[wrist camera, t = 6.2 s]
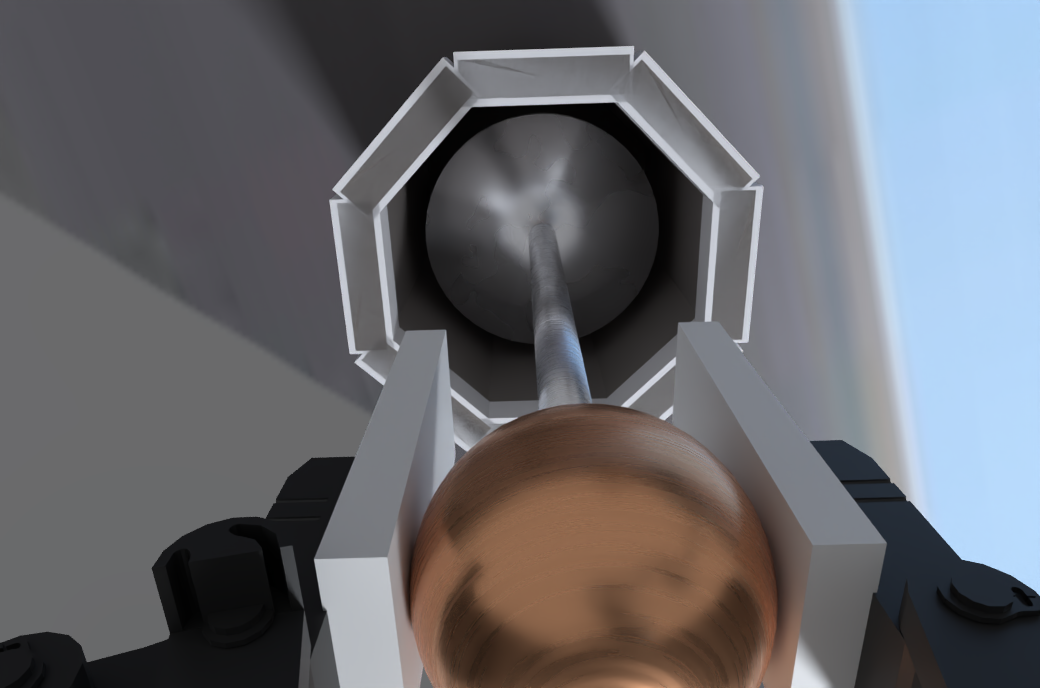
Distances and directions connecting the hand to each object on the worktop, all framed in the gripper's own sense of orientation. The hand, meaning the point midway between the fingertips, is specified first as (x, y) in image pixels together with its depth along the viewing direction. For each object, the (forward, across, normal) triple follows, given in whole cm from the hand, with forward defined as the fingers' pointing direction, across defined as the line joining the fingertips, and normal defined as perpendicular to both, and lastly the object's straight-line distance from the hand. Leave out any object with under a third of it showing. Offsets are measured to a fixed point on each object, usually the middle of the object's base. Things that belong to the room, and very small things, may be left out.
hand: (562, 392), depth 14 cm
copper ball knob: (+14, 0, 0) cm, 14 cm away
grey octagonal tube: (+22, 0, -2) cm, 22 cm away
